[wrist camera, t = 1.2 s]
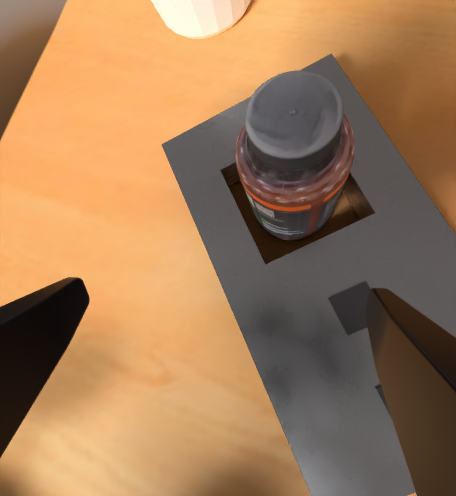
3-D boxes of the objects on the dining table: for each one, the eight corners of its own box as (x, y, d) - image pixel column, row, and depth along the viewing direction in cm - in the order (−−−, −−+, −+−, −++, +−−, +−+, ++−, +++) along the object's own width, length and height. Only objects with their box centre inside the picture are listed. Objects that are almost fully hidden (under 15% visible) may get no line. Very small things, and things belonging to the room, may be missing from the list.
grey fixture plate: (538, 409, 17) (592, 431, 14) (318, 491, 19) (324, 528, 16) (326, 84, 24) (331, 51, 21) (175, 162, 25) (160, 143, 22)
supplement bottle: (332, 167, 23) (373, 38, 12) (332, 243, 21) (378, 179, 11) (254, 170, 24) (226, 55, 13) (251, 241, 23) (217, 183, 12)
